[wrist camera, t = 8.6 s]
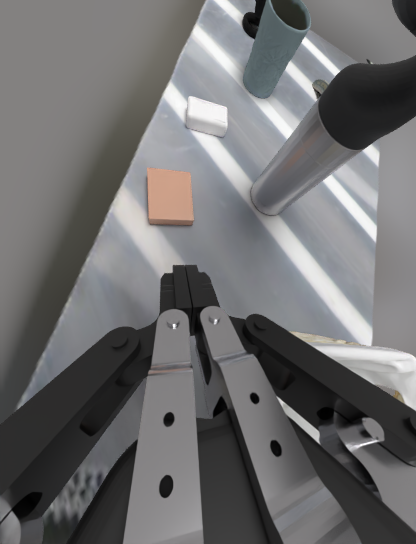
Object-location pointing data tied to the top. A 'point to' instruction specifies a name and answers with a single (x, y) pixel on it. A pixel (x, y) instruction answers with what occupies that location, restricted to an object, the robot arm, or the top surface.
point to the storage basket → (364, 370)
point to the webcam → (254, 18)
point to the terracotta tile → (169, 197)
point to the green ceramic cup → (275, 44)
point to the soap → (206, 117)
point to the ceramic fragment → (320, 85)
